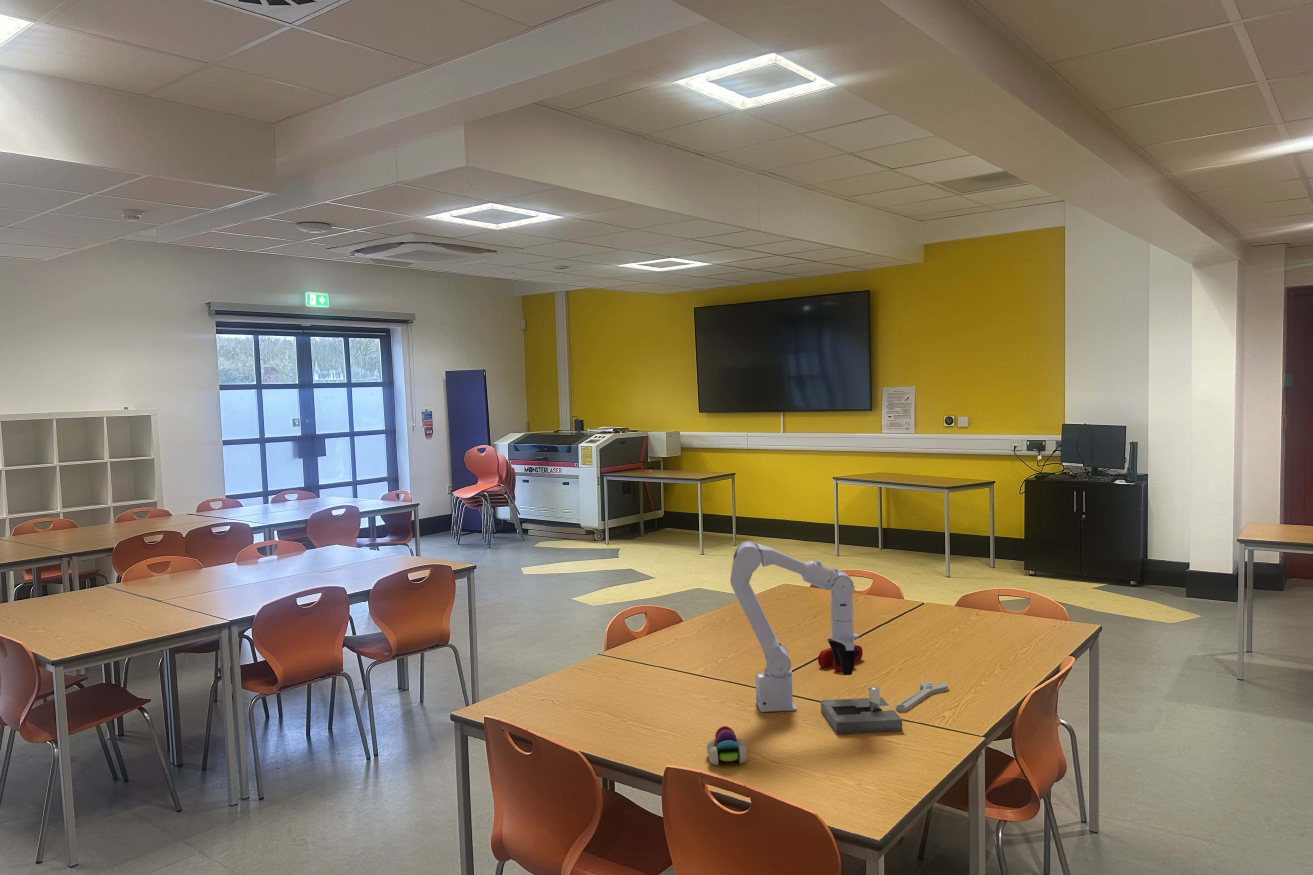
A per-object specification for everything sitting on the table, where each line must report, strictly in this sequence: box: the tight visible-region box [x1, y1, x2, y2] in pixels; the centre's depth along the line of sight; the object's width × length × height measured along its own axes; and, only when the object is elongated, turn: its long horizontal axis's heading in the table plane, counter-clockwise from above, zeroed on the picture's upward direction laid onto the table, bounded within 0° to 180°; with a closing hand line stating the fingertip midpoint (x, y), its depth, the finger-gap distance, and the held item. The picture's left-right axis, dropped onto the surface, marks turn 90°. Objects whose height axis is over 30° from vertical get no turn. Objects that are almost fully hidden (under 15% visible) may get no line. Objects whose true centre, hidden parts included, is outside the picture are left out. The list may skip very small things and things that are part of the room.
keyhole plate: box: [820, 696, 903, 735], centre depth 215 cm, size 16×16×3 cm
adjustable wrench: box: [895, 680, 949, 713], centre depth 230 cm, size 25×6×2 cm, turn 134°
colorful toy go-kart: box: [706, 725, 748, 766], centre depth 194 cm, size 8×10×7 cm
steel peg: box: [868, 686, 881, 712], centre depth 215 cm, size 4×4×8 cm
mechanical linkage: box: [817, 644, 864, 673], centre depth 262 cm, size 16×7×5 cm, turn 131°
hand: (843, 670), depth 226 cm, fingers open, 7 cm apart
